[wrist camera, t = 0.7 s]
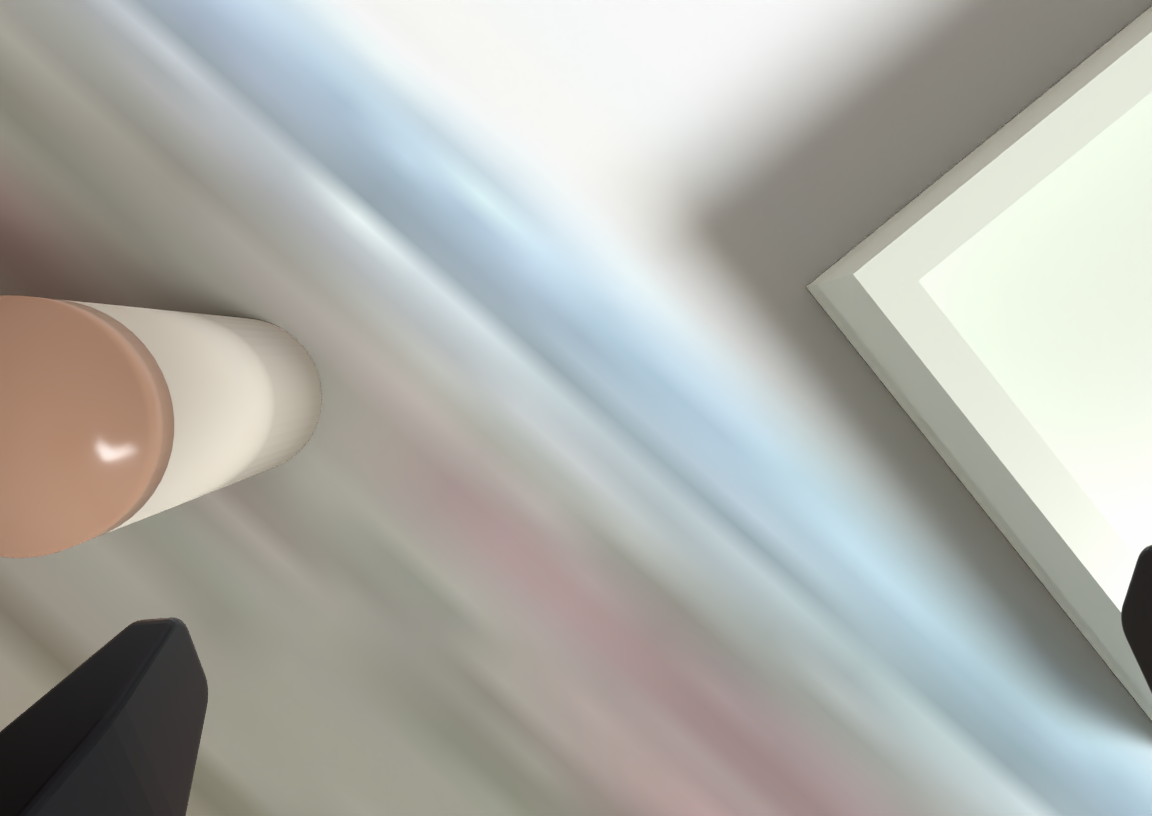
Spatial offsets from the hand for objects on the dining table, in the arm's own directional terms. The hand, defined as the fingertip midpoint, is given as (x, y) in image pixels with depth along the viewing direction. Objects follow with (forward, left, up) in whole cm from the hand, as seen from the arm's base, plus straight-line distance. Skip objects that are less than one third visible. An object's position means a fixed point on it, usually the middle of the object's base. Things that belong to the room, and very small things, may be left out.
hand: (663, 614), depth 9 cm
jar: (-6, +7, -16) cm, 18 cm away
